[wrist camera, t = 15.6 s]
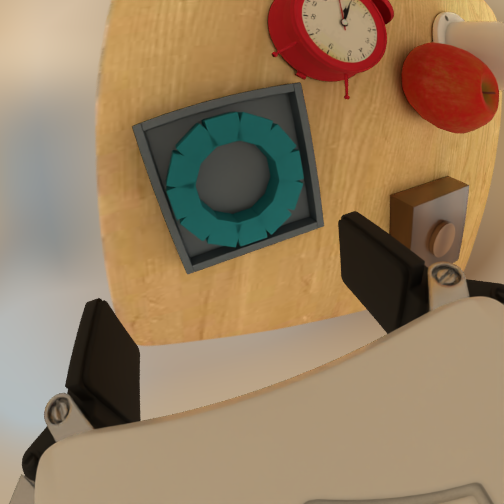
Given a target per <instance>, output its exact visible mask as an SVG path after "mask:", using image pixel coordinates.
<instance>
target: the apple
mask: <svg viewBox="0 0 504 504" xmlns="http://www.w3.org/2000/svg"><path fill="white" fill-rule="evenodd" d="M401 75H402V88H403V91H404V93H405V95H406V98H407V100H408V102H409V103H410V104H411V106H412V107H413V108H414V109H415V110H416V111H417V112H418V113H419V115H420V116H421V117H422V118H423V119H425V120H427V121H428V122H430V123H432V124H433V125H435V126H436V127H438V128H440V129H443V130H446V131H449V132H453V133H467V132H470V131H473V130H476V129H478V128H480V127H482V126H484V125H486V124H487V123H488V122H489V121H491V120H492V118H493V117H494V115H495V113H496V111H497V108H498V102H499V89H498V83H497V80H496V78H495V76H494V74H493V73H492V71H491V70H490V69H489V68H488V66H487V65H486V64H485V63H484V62H482V61H481V60H480V59H479V58H477V57H476V56H474V55H473V54H471V53H470V52H468V51H466V50H463V49H461V48H458V47H455V46H452V45H448V44H442V43H435V42H432V43H426V44H423V45H420V46H417V47H415V48H414V49H413V50H412V51H411V52H410V53H409V54H408V56H407V58H406V59H405V61H404V63H403V69H402V74H401Z"/></svg>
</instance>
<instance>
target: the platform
mask: <svg viewBox="0 0 504 504" xmlns="http://www.w3.org/2000/svg"><path fill="white" fill-rule="evenodd" d="M468 192H469V185H467V184H465V183H463V182H461V181H458V180H456V179H454V178H451V177H449V176H447V177H444V178H441V179H438V180H435V181H432V182H429V183H426V184H423V185H420V186H417V187H414V188H411V189H408V190H405V191H402V192H399V193H396V194H393V195H390V235H391V236H392V237H394V238H395V239H396V240H398V241H399V242H400V243H402V244H403V245H405V246H406V247H407V248H409V249H410V250H411V251H412V252H414V253H415V254H416V255H418V256H419V257H420V258H422V259H423V260H424V261H425V266H426V267H428V268H429V267H430V266H431V265H432V264H434V263H436V262H450V263H454V262H455V261H457V260H458V258H459V253H460V248H461V243H462V237H463V231H464V225H465V218H466V211H467V202H468Z"/></svg>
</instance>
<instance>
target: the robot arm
mask: <svg viewBox="0 0 504 504" xmlns="http://www.w3.org/2000/svg"><path fill="white" fill-rule="evenodd" d="M433 42H435V43H442V44H448V45H452V46H455V47H458V48H461V49H463V50H466V51H468V52H470V53H471V54H473V55H474V56H476V57H477V58H479V59H480V60H481V61H482V62H484V63H485V64H486V65H487V66H488V68H489V69H490V70H491V71H492V73H493V74H494V76H495V78H496V80H497V83H498V89H499V90H501V91H504V22H491V21H464V20H463V19H462V18H461V17H460V16H459V15H457V14H455V13H453V12H442V13H439V14H438V15H437V16H436V18H435V20H434V24H433ZM338 227H339V241H340V258H341V276H342V280H343V282H344V283H345V284H346V286H347V287H348V288H349V289H350V290H351V291H352V292H353V294H354V295H355V296H356V297H357V298H358V299H359V300H360V302H361V303H362V304H363V305H364V306H365V307H366V309H367V310H368V311H369V312H370V313H371V314H372V316H373V317H374V318H375V319H376V320H377V321H378V323H379V324H380V325H381V326H382V328H383V329H384V330H385V331H386V332H387V335H385V336H383V337H381V338H379V339H377V340H375V341H373V342H371V343H369V344H367V345H365V346H363V347H361V348H359V349H357V350H355V351H353V352H351V353H348V354H346V355H344V356H343V357H340V358H338V359H336V360H333V361H331V362H329V363H327V364H324V365H322V366H320V367H317V368H315V369H312V370H310V371H307V372H305V373H303V374H300V375H297V376H295V377H293V378H290V379H287V380H285V381H282V382H279V383H276V384H274V385H271V386H268V387H265V388H262V389H260V390H257V391H254V392H251V393H248V394H245V395H241V396H238V397H235V398H232V399H229V400H225V401H222V402H219V403H215V404H212V405H208V406H204V407H200V408H197V409H193V410H189V411H185V412H181V413H176V414H172V415H168V416H163V417H158V418H153V419H148V420H143V421H140V383H139V380H140V377H139V376H140V352H139V348H138V346H137V345H136V343H135V342H134V341H133V339H132V338H131V337H130V335H129V334H128V332H127V331H126V330H125V328H124V327H123V325H122V324H121V322H120V321H119V319H118V318H117V316H116V315H115V313H114V312H113V310H112V309H111V308H110V306H109V304H108V303H107V302H106V301H105V300H104V301H102V300H101V299H100V298H98V299H95V300H92V301H89V302H87V303H86V305H85V308H84V312H83V315H82V318H81V321H80V325H79V329H78V332H77V336H76V340H75V344H74V348H73V352H72V356H71V360H70V365H69V369H68V374H67V379H66V384H65V387H66V388H68V393H67V394H66V393H59V394H57V395H55V396H54V397H52V398H51V399H50V401H49V402H48V403H47V405H46V407H45V412H44V419H45V422H46V424H47V427H46V428H45V429H44V431H43V432H42V433H41V434H40V436H38V438H37V439H36V440H35V441H34V442H33V443H32V445H31V446H30V447H29V448H28V449H27V451H26V452H25V454H24V456H23V459H22V468H23V472H24V474H25V476H24V475H21V476H20V478H19V481H18V483H17V486H16V488H15V490H14V493H13V495H12V498H11V501H10V503H9V504H504V285H503V284H499V283H491V282H483V281H475V280H467V279H466V278H465V274H464V272H463V271H462V270H461V268H460V267H458V266H457V265H455V264H452V263H450V262H436V263H434V264H432V265H431V266H430V267H429V268H428V267H426V266H425V261H424V260H423V259H422V258H420V257H419V256H418V255H416V254H415V253H414V252H412V251H411V250H410V249H409V248H407V247H406V246H405V245H403V244H402V243H400V242H399V241H398V240H396V239H395V238H394V237H392V236H391V235H390V234H388V233H387V232H385V231H384V230H383V229H381V228H380V227H378V226H377V225H376V224H374V223H373V222H371V221H370V220H368V219H367V218H365V217H364V216H363V215H361V214H360V213H358V212H356V211H354V212H351V213H348V214H345V215H343V216H342V217H341V220H339V222H338Z"/></svg>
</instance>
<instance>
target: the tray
mask: <svg viewBox="0 0 504 504" xmlns="http://www.w3.org/2000/svg"><path fill="white" fill-rule="evenodd" d="M228 112H246V113H249V114H253V115H256V116H260V117H263V118H266V119H269V120H273V123H275V124H278V125H279V126H280V127H281V128H282V129H283V130H284V131H285V133H286V134H287V135H288V136H289V137H290V138H291V139H292V141H293V142H294V143H295V144H296V147H295V148H294V149H296V150H299V152H300V158H301V164H302V169H303V175H304V179H301V180H299V181H301V182H302V183H303V186H302V189H301V192H300V195H299V198H298V201H297V204H296V207H295V210H291V209H288V210H289V211H290V213H291V214H292V215H291V216H290V217H289V218H288V219H287V220H286V221H285V222H284V223H283V224H282V225H281V226H280V227H279V228H278V229H277V230H276V231H275V232H274V233H273V234H272V235H271V234H270V233H269V232H268V231H267V230H266V232H267V238H264V239H261V240H258V241H255V242H253V243H250V244H247V245H244V246H240V245H239V243H238V242H237V245H236V247H229V246H222V245H215V244H208V243H207V241H206V239H205V240H204V241H201V240H200V239H199V238H198V237H196V236H195V235H194V234H192V233H191V232H190V231H188V230H187V229H186V228H185V227H183V226H182V225H181V224H180V220H179V219H178V220H177V219H176V216H175V214H174V211H173V208H172V205H171V203H170V200H169V197H168V194H167V192H166V177H167V172H168V168H169V163H170V159H171V154H172V151H173V150H177V149H176V146H175V145H176V144H177V143H178V142H179V141H180V139H181V138H182V137H183V136H184V135H185V134H186V133H187V132H188V131H189V130H190V129H191V128H192V127H193V126H194V125H195V124H196V123H199V124H201V125H202V121H201V120H203V119H206V118H210V117H213V116H217V115H220V114H224V113H228ZM202 126H203V125H202ZM132 128H133V131H134V134H135V137H136V141H137V144H138V147H139V150H140V153H141V156H142V159H143V162H144V164H145V167H146V170H147V173H148V176H149V179H150V181H151V184H152V187H153V190H154V193H155V195H156V198H157V201H158V203H159V206H160V209H161V211H162V214H163V216H164V219H165V222H166V224H167V227H168V229H169V232H170V234H171V237H172V239H173V242H174V244H175V247H176V249H177V251H178V254H179V256H180V259H181V261H182V263H183V266H184V268H185V270H186V273H187V274H190V273H193V272H194V271H195V272H196V271H199V270H202V269H204V268H207V267H210V266H213V265H216V264H219V263H221V262H224V261H227V260H230V259H233V258H235V257H238V256H241V255H244V254H247V253H250V252H252V251H255V250H258V249H261V248H264V247H267V246H269V245H272V244H275V243H278V242H281V241H283V240H286V239H289V238H292V237H295V236H298V235H300V234H303V233H306V232H309V231H312V230H315V229H317V228H320V227H323V226H324V221H323V213H322V205H321V197H320V189H319V182H318V175H317V168H316V162H315V155H314V149H313V143H312V138H311V132H310V126H309V121H308V116H307V110H306V105H305V100H304V96H303V91H302V86H301V83H300V82H299V83H292V84H285V85H279V86H273V87H268V88H262V89H257V90H252V91H248V92H243V93H238V94H234V95H230V96H226V97H222V98H218V99H214V100H210V101H206V102H203V103H199V104H196V105H192V106H189V107H186V108H182V109H179V110H176V111H173V112H170V113H167V114H164V115H161V116H158V117H155V118H153V119H150V120H147V121H144V122H142V123H139V124H137V125H134V126H132ZM177 151H178V150H177ZM269 179H270V172H269V167H268V162H267V158H266V156H265V155H264V154H263V153H262V152H261V151H260V150H259V149H258V148H257V147H256V146H255V145H254V144H251V143H247V142H243V141H236V142H232V143H229V144H225V145H222V146H218V147H216V149H215V150H214V151H213V152H212V153H211V154H210V155H209V156H208V157H207V158H206V159H205V160H204V161H203V162H202V163H201V165H200V169H199V173H198V177H197V182H196V189H197V192H198V195H199V198H200V199H201V200H202V201H203V202H204V203H205V204H207V205H208V206H209V207H210V208H211V209H212V210H214V211H219V212H225V213H231V214H234V213H237V212H240V211H243V210H246V209H249V208H251V207H252V206H253V205H254V204H255V203H256V202H257V201H258V200H259V199H260V198H261V197H262V196H263V195H264V194H265V192H266V188H267V185H268V182H269Z"/></svg>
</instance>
